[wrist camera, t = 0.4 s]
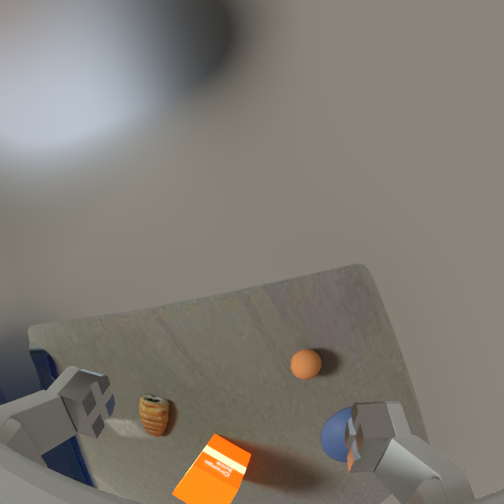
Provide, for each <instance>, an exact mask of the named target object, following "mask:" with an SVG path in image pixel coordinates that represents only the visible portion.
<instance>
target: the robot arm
mask: <svg viewBox="0 0 504 504" xmlns="http://www.w3.org/2000/svg"><path fill="white" fill-rule="evenodd" d="M109 385H110V382H109V379H108V377H107V376H105V375H102V374H99V373H95V372H92V371H88V370H85V369H81V368H77V367H74V366H69V367H67V368H66V369H65V370H64V372H63V373H62V374H61V375H60V376H59V377H58V378H57V379H56V381H55V382H54V383H53V384H52V385H51V386H50V387H49V388H48V390H47V391H45V390H42V391H39V392H36V393H34V394H31V395H28V396H26V397H23V398H20V399H17V400H15V401H12V402H9V403H6V404H4V405H1V406H0V504H141V503H138V502H134V501H131V500H128V499H125V498H121V497H118V496H115V495H112V494H109V493H107V492H104V491H101V490H98V489H96V488H93V487H90V486H88V485H85V484H83V483H80V482H78V481H75V480H73V479H71V478H68V477H66V476H64V475H62V474H59V473H57V472H55V471H53V470H51V469H49V468H47V466H46V463H45V462H44V461H43V459H42V458H41V456H40V455H42V454H44V453H45V452H47V451H49V450H51V449H52V448H54V447H56V446H57V445H59V444H61V443H62V442H64V441H66V440H67V439H69V438H71V437H72V436H74V435H76V434H77V433H80V434H84V435H87V436H90V437H93V438H96V439H97V438H98V436H99V434H100V433H101V431H102V429H103V428H104V422H103V421H104V420H106V419H108V418H110V416H111V414H112V413H113V409H114V405H115V402H114V396H113V393H112V392H111V391H110V390H109V389H108V387H109ZM351 416H352V418H350V419H349V420H348V421H347V425H346V429H345V446H346V448H347V449H348V450H350V451H349V453H348V456H347V462H348V469H349V473H357V472H374V473H375V475H376V476H377V477H378V478H379V479H380V480H381V481H382V482H383V484H384V485H385V486H386V487H387V488H388V489H389V490H390V491H391V493H392V494H393V495H394V496H395V497H396V498H397V499H398V500H399V501H400V503H401V504H504V489H503V490H501V491H498V492H496V493H493V494H490V495H487V496H484V497H482V498H479V499H476V500H475V498H474V495H473V492H472V490H471V487H470V484H469V482H468V479H467V476H466V473H465V471H464V470H463V469H461V468H460V467H459V466H457V465H456V464H454V463H453V462H451V461H450V460H449V459H447V458H446V457H445V456H443V455H442V454H441V453H439V452H438V451H437V450H435V449H434V448H432V447H431V446H430V445H429V444H427V443H426V442H425V441H423V440H422V439H421V438H419V437H418V436H417V435H414V436H412V434H411V431H410V428H409V425H408V422H407V419H406V416H405V414H404V411H403V408H402V405H401V403H400V402H399V401H385V402H365V403H354V404H353V406H352V409H351Z"/></svg>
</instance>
